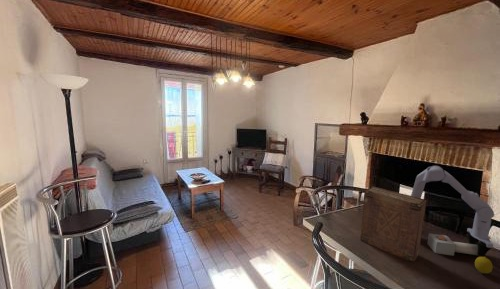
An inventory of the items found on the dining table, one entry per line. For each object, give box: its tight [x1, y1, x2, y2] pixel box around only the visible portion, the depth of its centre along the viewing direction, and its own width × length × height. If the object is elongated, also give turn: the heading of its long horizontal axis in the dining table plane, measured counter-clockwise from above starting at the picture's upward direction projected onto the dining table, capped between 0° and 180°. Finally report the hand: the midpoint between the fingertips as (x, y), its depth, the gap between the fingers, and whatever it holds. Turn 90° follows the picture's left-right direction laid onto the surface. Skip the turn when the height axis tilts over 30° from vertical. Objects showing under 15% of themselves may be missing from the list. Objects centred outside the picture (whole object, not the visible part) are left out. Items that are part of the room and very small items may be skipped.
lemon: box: [474, 256, 493, 274], centre depth 99 cm, size 6×6×8 cm
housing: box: [427, 233, 456, 257], centre depth 116 cm, size 8×8×6 cm
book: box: [360, 186, 427, 264], centre depth 116 cm, size 25×9×30 cm, turn 41°
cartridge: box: [453, 241, 478, 256], centre depth 113 cm, size 13×5×5 cm, turn 75°
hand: (476, 252), depth 112 cm, fingers open, 5 cm apart
